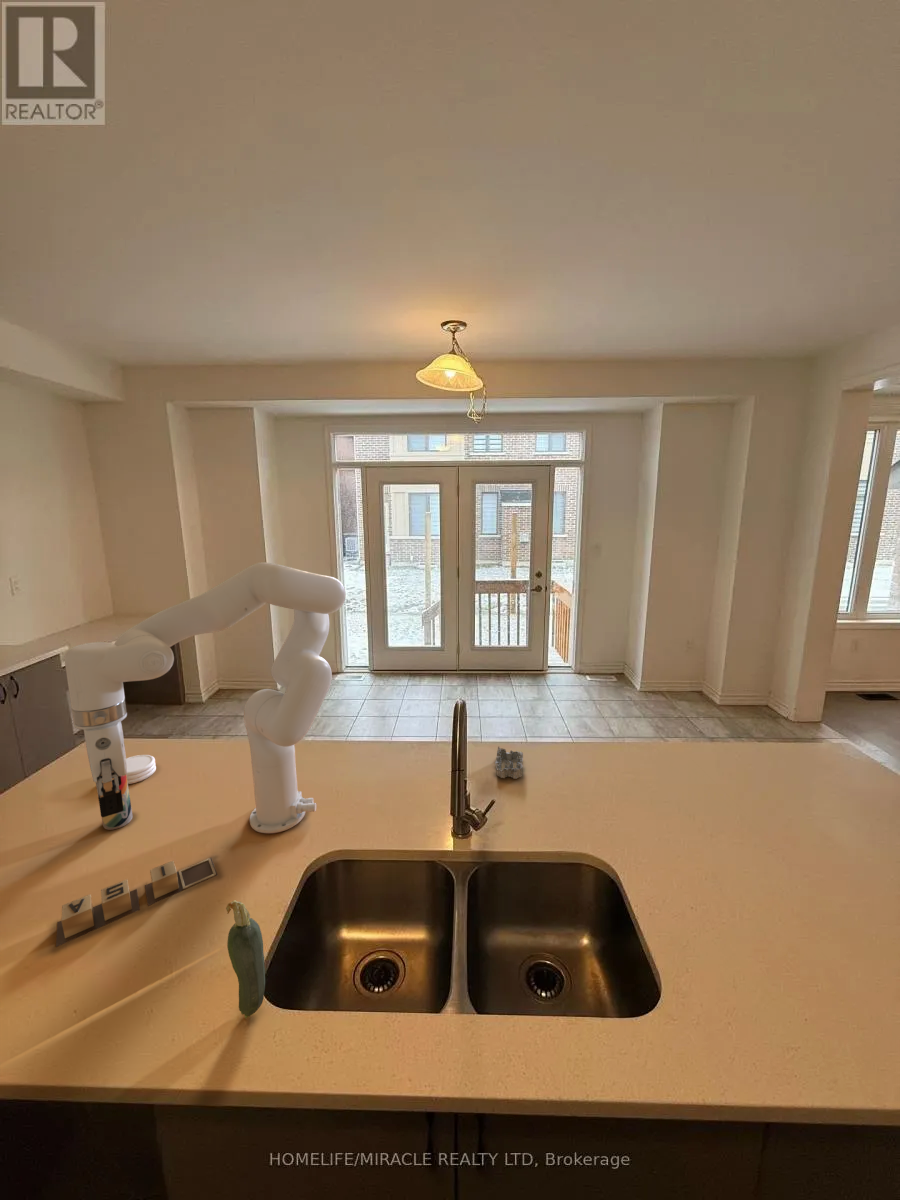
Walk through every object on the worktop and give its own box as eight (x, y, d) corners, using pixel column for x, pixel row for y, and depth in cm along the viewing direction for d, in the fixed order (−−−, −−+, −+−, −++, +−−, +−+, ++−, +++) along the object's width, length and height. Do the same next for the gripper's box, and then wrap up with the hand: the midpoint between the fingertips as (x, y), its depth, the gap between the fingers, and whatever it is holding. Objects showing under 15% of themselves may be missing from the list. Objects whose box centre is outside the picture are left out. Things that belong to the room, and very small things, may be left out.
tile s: (130, 895, 88) (127, 878, 87) (131, 909, 84) (129, 892, 84) (104, 906, 85) (100, 889, 84) (104, 921, 82) (101, 903, 81)
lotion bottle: (117, 832, 105) (104, 751, 101) (97, 828, 106) (83, 749, 102) (138, 815, 111) (127, 739, 107) (118, 812, 112) (106, 736, 108)
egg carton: (497, 757, 136) (497, 745, 135) (522, 760, 135) (523, 747, 134) (494, 778, 126) (494, 764, 125) (522, 780, 124) (522, 767, 124)
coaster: (160, 775, 127) (158, 763, 127) (116, 790, 121) (114, 778, 120) (151, 761, 134) (150, 750, 134) (109, 774, 128) (108, 763, 127)
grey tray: (211, 859, 97) (209, 842, 96) (217, 876, 92) (215, 858, 92) (144, 887, 90) (142, 868, 89) (148, 907, 85) (145, 888, 84)
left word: (137, 890, 89) (134, 872, 88) (140, 911, 84) (137, 892, 84) (57, 924, 82) (53, 904, 81) (56, 948, 77) (52, 928, 76)
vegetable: (273, 1000, 69) (262, 886, 65) (263, 1033, 65) (250, 913, 61) (243, 1001, 69) (231, 887, 65) (231, 1034, 65) (216, 914, 61)
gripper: (128, 725, 77) (139, 816, 80) (124, 692, 91) (133, 772, 94) (70, 737, 73) (84, 834, 76) (75, 701, 86) (87, 784, 89)
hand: (112, 799), depth 85 cm, fingers open, 9 cm apart
